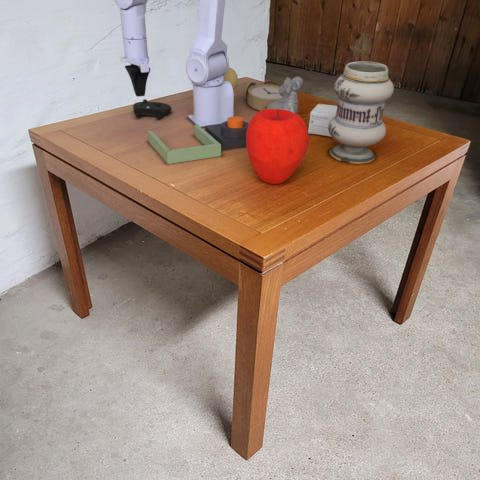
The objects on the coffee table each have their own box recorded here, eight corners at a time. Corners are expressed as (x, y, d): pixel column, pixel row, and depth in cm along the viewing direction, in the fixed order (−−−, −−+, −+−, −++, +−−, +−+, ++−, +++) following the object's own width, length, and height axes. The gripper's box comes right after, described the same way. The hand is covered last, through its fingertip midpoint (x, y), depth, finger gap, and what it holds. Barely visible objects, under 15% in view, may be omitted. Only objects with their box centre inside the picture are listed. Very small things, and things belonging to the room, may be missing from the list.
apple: (307, 171, 104) (315, 103, 95) (300, 196, 95) (307, 123, 87) (251, 165, 106) (253, 97, 97) (238, 188, 97) (240, 116, 88)
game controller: (172, 107, 131) (168, 95, 125) (170, 127, 130) (165, 116, 124) (135, 105, 131) (129, 93, 125) (133, 125, 131) (127, 113, 125)
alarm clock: (258, 102, 130) (237, 76, 138) (256, 120, 133) (235, 94, 142) (297, 98, 133) (274, 73, 142) (294, 116, 137) (271, 90, 146)
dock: (198, 135, 119) (198, 124, 117) (221, 156, 109) (221, 144, 108) (148, 142, 114) (147, 130, 113) (167, 164, 105) (167, 152, 103)
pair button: (224, 125, 114) (224, 117, 113) (239, 123, 115) (239, 115, 114) (231, 130, 111) (231, 122, 110) (246, 128, 112) (246, 120, 111)
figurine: (261, 116, 130) (263, 71, 124) (300, 120, 129) (304, 74, 122) (255, 126, 124) (257, 79, 117) (296, 130, 122) (300, 83, 116)
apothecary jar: (318, 160, 109) (330, 69, 97) (331, 141, 117) (344, 56, 106) (375, 170, 105) (394, 76, 94) (384, 150, 114) (402, 62, 103)
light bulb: (225, 113, 131) (225, 71, 125) (208, 107, 134) (207, 66, 128) (242, 108, 135) (243, 67, 129) (224, 102, 138) (224, 62, 132)
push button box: (205, 135, 119) (204, 117, 116) (240, 130, 122) (240, 113, 119) (222, 150, 112) (222, 132, 109) (259, 145, 115) (260, 127, 112)
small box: (306, 133, 121) (309, 111, 118) (315, 124, 127) (318, 102, 123) (339, 139, 119) (342, 116, 116) (346, 128, 125) (350, 107, 121)
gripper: (111, 32, 128) (118, 89, 137) (126, 44, 118) (132, 105, 127) (138, 31, 131) (143, 87, 139) (155, 42, 121) (159, 102, 129)
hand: (140, 95), depth 133 cm, fingers closed
